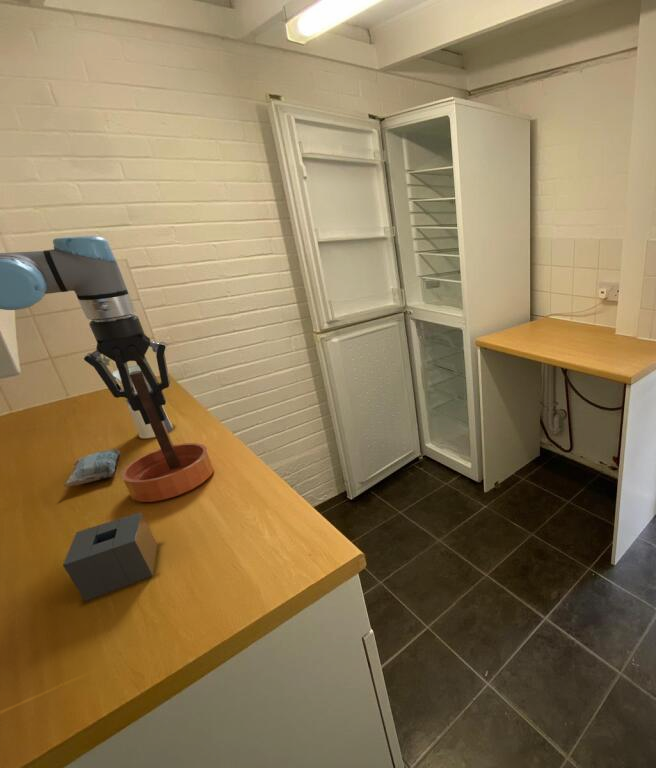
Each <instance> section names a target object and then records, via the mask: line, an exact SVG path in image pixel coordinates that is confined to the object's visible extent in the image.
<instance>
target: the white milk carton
mask: <svg viewBox="0 0 656 768" xmlns="http://www.w3.org/2000/svg"><path fill="white" fill-rule="evenodd" d="M102 357H103V359H102V361H103V362H104V363H105V365H106V366H107V367H108V366H109V367H112V364H111V361H112V360H111V359H110V358H108V357H106V356H105V355H102ZM128 369H129V372H130V373H131V372H135V371H141V369H140V367H139V366H138V365H137V364H133V365H132V364H131V365H128ZM152 371H153V372H154V370H153V369H152ZM111 374H112V375H113V377H114V378H115V380H116V381H117V382H119V385H121V389H122V390H124V388H123V385H122V381H121V378H120V374H119V371H118V369H116V370H114V371H113V372H111ZM147 382H148V381H147ZM132 383H133V382H132ZM148 385H149V383H148ZM133 387H134V385H133ZM149 387H150V385H149ZM134 390H135V394H137V392H136V389H135V387H134ZM150 390H151V391H153V390H152V389H151V387H150ZM124 402H125V404H126V405H127V410H128V412H129V415H130V417H131V419H132V422H133V424H134V426H135V430H136V432H137V435H138V438H140V439H151V438H156V436H155V434H154V431H153V429H152V427H151V424H147V425H145V422H144V420H143V418H142V416H141V413H140V411H139V410H138V411H133V410H132V408H131V405H130V403H129V401H128V399H127V398H125V397H124ZM162 407H163V409H164V412H165V414H166V418H165V420H164V424H165V426H166V428H167V431H168V433H169V432H170V431H172V429H173V425H172V423H171V421H170V419H169V417H168V414H167V412H166V410H165V408H164V405H162Z"/></svg>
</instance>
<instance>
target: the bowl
mask: <svg viewBox="0 0 656 768" xmlns="http://www.w3.org/2000/svg"><path fill="white" fill-rule="evenodd" d="M173 445H174V448H175V450H176V453H177V455H178V458H179V460H180V463H181V465H180V467H179V468H175V469H171V470H170V469H169V467H168V464H167V462H166V460H165V457H164V455H163V453H162V450H161V448H158V449H156V450H153V451H150V452H148V453H146V454H144V455H142V456H139V457H138V458H136V459H135V460H132V461H131V462H130V463H128V464H127V465H126V466H125V467H124V468H123V469H122V471H121V474H120V478H121V480H122V482H123V484H124V487H125V489H126V490H127V492H128V494H129V497H130V498H131V499H132V500H133V501H137V502H139V503H153V502H158V501H164V500H168V499H171V498H174V497H177V496H180V495H183V494H185V493H187V492H189V491H192V490H193V489H195V488H197V487H199V486H200V485H202V484H203V483H205V481H206V480H207V479H209V478H210V477H211V476H212V474H213V473H214V469H215V466H214V462H213V460H212V457H211V455H210V453H209V450H208V448H207V447H206V446H205V445H204V444H202V443H198V442H184V443H177V444H173Z"/></svg>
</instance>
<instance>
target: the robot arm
mask: <svg viewBox="0 0 656 768" xmlns="http://www.w3.org/2000/svg"><path fill="white" fill-rule="evenodd" d="M52 244H53V249H47V250H46V249H45V250H37V251H35V250H34V251H16V252H0V310H2V311H3V310H4V311H18V310H25V309H28V308H31V307H33V306H35V305H36V304H38V303H40V301H42V300H43V298H44V297H45V295H48V294H49V295H50V294H58V293H67V292H74V293H75V295H76V298H77V300H78V302H79V305H80V307H81V310H82V311H83V314H84V316H85V319H87V320H90V322H89V323H88V325H89V327H90V329H91V332H92V334H93V337H94V340H95V341H96V347H95V348H96V349H95V350H94V351H92V352H88V353H87V354H86V355H84V358H83V360H84V361H85V362H86V363H87V364H89V365H90V366H92V367H93V368H94V369H95V371H96V373H97V374H98V375H99V377H100V378H101V380H102V381H103V383H104V384H105V386H106V387H107V389H108V390H109V391H110V393H111V395H112V396H113V397H114V398H117V399H118V398H119V399H120V398H124V399H125V398H127V399H128V401H129V403H130V405H131V408H132V410H133V411H138V410H139V411H140V413H141V416H142V418H143V420H144V422H145V425H147V424H150V422H149V420H148V417H147V415H146V413H145V410H144V408H143V405H142V403H141V401H140V398H139V396H138V394H135V390H134V387H133V383H132V380H131V378H130V372H129V369H128V366H129V365H128V362H135V363H136V365H138V366H139V367H140V369H141V371H142V373H143V374H144V376H145V378H146V380H147V381H148V383H149V385H150V387H151V389H152V390H153V391H151V394H150V396H151V399H152V401H153V403H154V406H155V408H156V411H157V413H158V416H159V418H160V420H161V421H164V420H165V418H166V415H167V413H166V414H165V412H166V411H165V412H164V410H165V408H164V406H166V402H167V399H166V397H165V394H164V391H163V390H165V389H168V388H169V387H170V384H171V380H170V376H169V370H168V363H167V359H166V354H165V353H166V348H167V343H166V342H165V341H160V342H158V341H153V340H151V339H150V337H148V336H147V335H146V333H145V331H144V329H143V326H142V323H141V321H140V318H139V316H138V315H136V314H135V313H136V312H137V310H136V307H135V305H134V302H133V300H132V298H131V295H130V293H129V291H128V288H127V285H126V283H125V280H124V277H123V275H122V272H121V270H120V267H119V264H118V261H117V259H116V257H115V255H114V253H113V251H112V248H111V247H110V244H109V242H108V241H107V240H106V239H105V238H103V237H102V236H99V235H85V236H70V237H69V236H68V237H56V238H54V239H53V240H52ZM149 348H151V349H152V352H153V353H155V355H156V357H155V358H156V362H157V367H158V372H159V377H160V382H159V380H158V378H157V376H156V374H155V373H154V370H153V369H152V367H151V366H150V364H149V362H148V360H147V356H145V355H146V354H147V353H148V349H149ZM104 355H105V356H106V357H107V358H108V359H111V360H110V361H113V362H115V366H116V368H117V370H118V371H119V374H120V378H121V381H122V385H123V388H124V390H122V385H121V386H120V383H118V380H117V379H116V380H115V378H114V377H113V374H112V372H111V370H110V369H109V368H108V365H107V366H106V365H105V363H104V361H102V359H103V356H104ZM152 370H153V371H152ZM162 405H163V407H162ZM163 408H164V409H163Z"/></svg>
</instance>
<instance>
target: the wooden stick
mask: <svg viewBox="0 0 656 768" xmlns="http://www.w3.org/2000/svg"><path fill="white" fill-rule="evenodd" d="M130 378H131V380H132V382H133V385H134V387H135V389H136V392H137V394H138V396H139V398H140V401H141V403H142V405H143V408H144V410H145V413H146V415H147V417H148V420H149V422H150V424H151V427H152V429H153V431H154V434H155V436H156V437H155V438H156V441H157V443H158V446H159V449H161V450H162V453H163V455H164V457H165V460H166V462H167V464H168V467H169V469H170V470H171V469H175V468H179V467H180V465H181V463H180V460H179V458H178V455H177V453H176V450H175V448H174V445H175V444H174V443H173V441H172V439H171V436H170V433H169V432H168V431H167V428H166V426H165V424H164V421H161V420H160V418H159V416H158V413H157V411H156V408H155V406H154V403H153V401H152V399H151V396H150V394H151V390H150V387H149V385H148V382H147V380H146V378H145V376H144V374H143V373H142V371H135V372H131V373H130Z"/></svg>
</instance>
